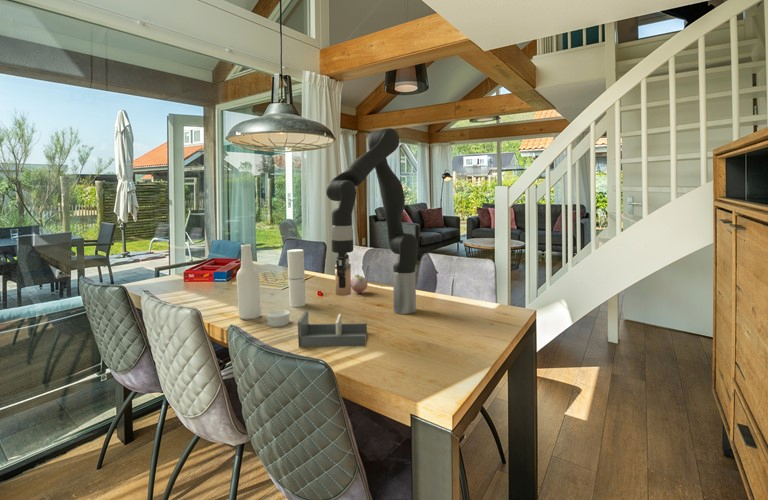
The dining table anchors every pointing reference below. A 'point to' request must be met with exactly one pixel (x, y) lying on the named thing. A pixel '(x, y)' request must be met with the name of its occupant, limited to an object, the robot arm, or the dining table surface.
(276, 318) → the ramekin
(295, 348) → the dining table surface
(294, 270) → the cylindrical container
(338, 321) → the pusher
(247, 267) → the alcohol
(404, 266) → the robot arm
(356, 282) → the decorative fruit
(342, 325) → the lane
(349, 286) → the jar
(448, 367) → the dining table surface
